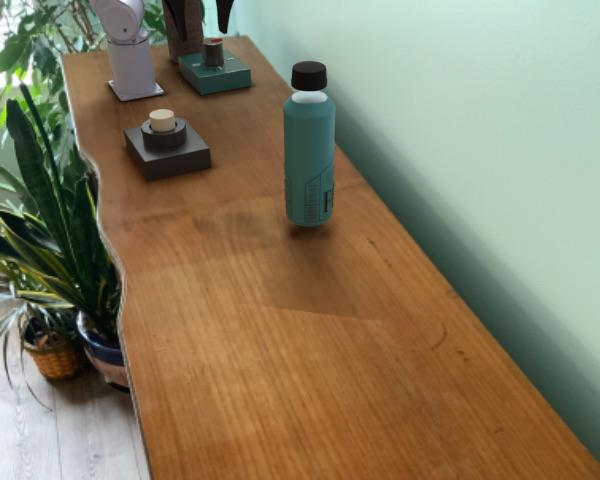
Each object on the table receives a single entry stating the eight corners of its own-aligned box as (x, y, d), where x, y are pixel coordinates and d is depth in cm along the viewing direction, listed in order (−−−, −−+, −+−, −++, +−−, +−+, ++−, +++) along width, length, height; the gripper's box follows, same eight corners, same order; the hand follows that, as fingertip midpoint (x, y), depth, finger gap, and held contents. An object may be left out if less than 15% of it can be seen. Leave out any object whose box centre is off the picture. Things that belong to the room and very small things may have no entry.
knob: (207, 67, 115) (204, 44, 113) (199, 60, 118) (197, 37, 115) (227, 63, 117) (225, 40, 114) (219, 57, 119) (217, 34, 116)
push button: (148, 125, 95) (146, 111, 93) (171, 121, 96) (169, 107, 94) (155, 134, 93) (153, 121, 91) (178, 130, 94) (176, 116, 92)
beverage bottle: (328, 240, 82) (334, 77, 67) (279, 234, 83) (274, 73, 68) (336, 214, 86) (344, 56, 71) (289, 209, 87) (287, 52, 72)
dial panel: (180, 73, 122) (177, 55, 119) (228, 64, 125) (226, 47, 122) (201, 94, 114) (199, 76, 112) (251, 85, 117) (250, 67, 115)
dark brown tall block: (165, 55, 128) (147, -65, 114) (199, 49, 131) (186, -68, 116) (176, 67, 124) (159, -56, 109) (211, 61, 126) (199, -60, 111)
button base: (126, 148, 100) (120, 116, 96) (186, 135, 103) (182, 104, 99) (148, 181, 92) (142, 148, 89) (212, 167, 95) (208, 134, 92)
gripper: (224, -69, 104) (230, 23, 114) (141, -59, 99) (156, 36, 109) (243, -60, 100) (248, 34, 110) (158, -50, 95) (171, 48, 105)
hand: (203, 35), depth 110 cm, fingers open, 7 cm apart
